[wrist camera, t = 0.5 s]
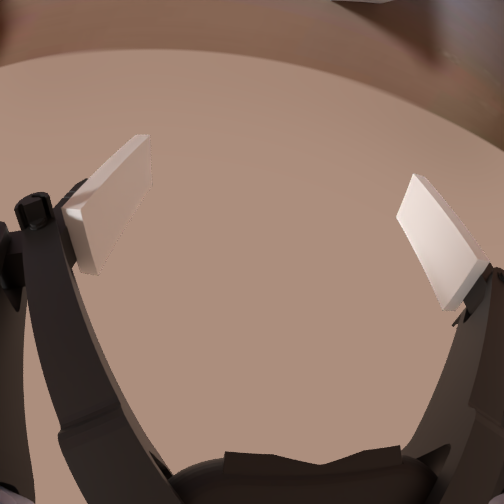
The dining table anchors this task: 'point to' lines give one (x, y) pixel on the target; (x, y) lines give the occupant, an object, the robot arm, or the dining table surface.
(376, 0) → the grey u-shaped bracket
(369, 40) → the dining table surface
